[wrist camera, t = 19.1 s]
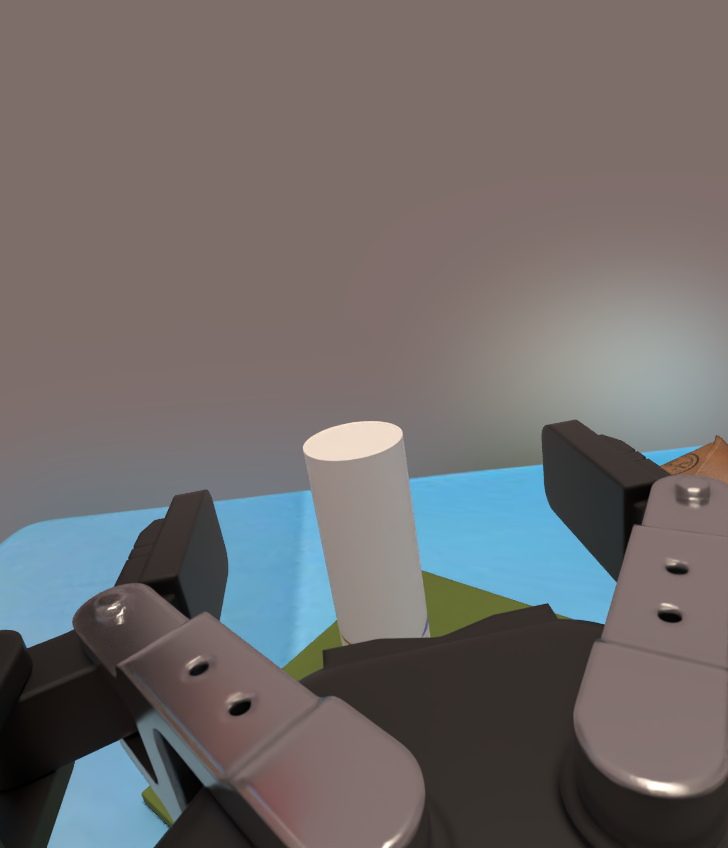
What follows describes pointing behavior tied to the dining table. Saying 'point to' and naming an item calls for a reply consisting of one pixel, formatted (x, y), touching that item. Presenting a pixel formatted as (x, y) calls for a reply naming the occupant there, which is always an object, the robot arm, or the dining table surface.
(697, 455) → the sunglasses case
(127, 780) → the dining table surface
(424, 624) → the tube
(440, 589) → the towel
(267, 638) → the dining table surface
